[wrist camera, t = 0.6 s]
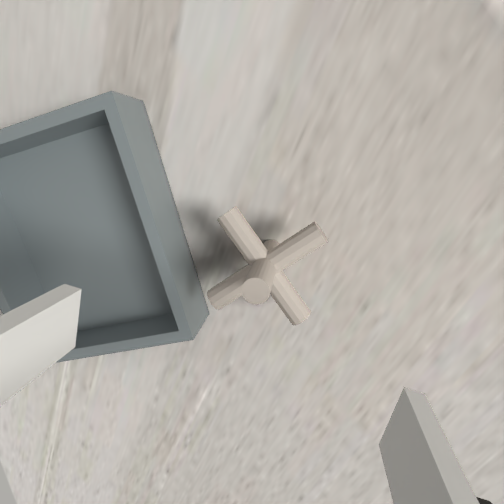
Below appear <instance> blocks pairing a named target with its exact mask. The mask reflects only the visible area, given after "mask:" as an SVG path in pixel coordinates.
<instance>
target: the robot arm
mask: <svg viewBox="0 0 504 504" xmlns="http://www.w3.org/2000/svg"><path fill="white" fill-rule="evenodd" d="M81 290H82V289H80V288H77V287H74V286H70V285H67V284H63V285H61V286H59V287H57V288H55V289H53V290H51V291H49V292H47V293H45V294H43V295H41V296H39V297H37V298H35V299H33V300H31V301H29V302H27V303H25V304H23V305H21V306H19V307H17V308H15V309H13V310H11V311H9V312H7V313H5V314H3V315H1V316H0V407H1V406H2V405H3V404H4V403H6V402H7V401H8V400H9V399H11V398H12V397H13V396H14V395H16V394H17V393H18V392H19V391H21V390H22V389H23V388H24V387H26V386H27V385H28V384H29V383H31V382H32V381H33V380H34V379H36V378H37V377H38V376H39V375H41V374H42V373H43V372H44V371H46V370H47V369H48V368H49V367H51V366H52V365H53V364H54V363H56V362H57V361H58V360H59V359H61V358H62V357H63V356H65V355H66V354H67V353H68V352H70V351H71V350H72V349H73V348H75V344H76V335H77V326H78V317H79V308H80V299H81ZM379 447H380V451H381V455H382V459H383V463H384V467H385V471H386V475H387V479H388V483H389V487H390V491H391V495H392V499H393V503H394V504H492V503H491V502H490V501H487V500H484V499H481V498H478V497H476V496H475V494H474V492H473V490H472V488H471V486H470V484H469V482H468V480H467V478H466V476H465V474H464V472H463V470H462V468H461V466H460V464H459V462H458V460H457V458H456V456H455V454H454V452H453V450H452V447H451V445H450V443H449V441H448V439H447V437H446V435H445V433H444V431H443V429H442V427H441V425H440V423H439V421H438V419H437V417H436V415H435V413H434V411H433V409H432V407H431V405H430V403H429V401H428V399H427V397H426V395H425V393H421V392H418V391H415V390H411V389H408V388H405V387H404V389H403V391H402V393H401V395H400V398H399V400H398V402H397V404H396V407H395V409H394V411H393V414H392V416H391V418H390V420H389V423H388V425H387V427H386V430H385V432H384V434H383V436H382V439H381V441H380V443H379Z"/></svg>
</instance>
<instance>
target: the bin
mask: <svg viewBox="0 0 504 504" xmlns="http://www.w3.org/2000/svg"><path fill="white" fill-rule="evenodd" d="M63 284H67V285H70V286H74V287H77V288H80V289H82V290H81V299H80V308H79V317H78V326H77V335H76V344H75V348H73V349H72V350H71V351H70V352H68V353H67V354H66V355H65V356H63V357H62V358H61V359H59V360H58V361H57V362H62V361H68V360H74V359H80V358H86V357H92V356H98V355H104V354H110V353H116V352H122V351H129V350H135V349H141V348H147V347H153V346H159V345H165V344H171V343H177V342H183V341H189V340H194V338H195V336H196V335H197V333H198V331H199V330H200V328H201V326H202V325H203V323H204V322H205V320H206V318H207V317H208V315H209V311H208V308H207V305H206V301H205V298H204V295H203V292H202V289H201V285H200V282H199V279H198V276H197V272H196V269H195V266H194V263H193V260H192V256H191V253H190V250H189V247H188V243H187V240H186V237H185V234H184V231H183V227H182V224H181V221H180V218H179V215H178V211H177V208H176V205H175V202H174V198H173V195H172V192H171V189H170V186H169V182H168V179H167V176H166V173H165V170H164V166H163V163H162V160H161V157H160V153H159V150H158V147H157V144H156V141H155V137H154V134H153V131H152V128H151V124H150V121H149V118H148V115H147V112H146V108H145V105H144V102H143V101H142V100H139V99H136V98H133V97H130V96H126V95H123V94H120V93H117V92H114V91H110V92H107V93H104V94H101V95H98V96H95V97H92V98H89V99H87V100H84V101H81V102H78V103H75V104H72V105H69V106H66V107H64V108H61V109H58V110H55V111H52V112H49V113H46V114H43V115H41V116H38V117H35V118H32V119H29V120H26V121H23V122H20V123H17V124H15V125H12V126H9V127H6V128H3V129H0V309H1V311H2V313H3V314H5V313H7V312H9V311H11V310H13V309H15V308H17V307H19V306H21V305H23V304H25V303H27V302H29V301H31V300H33V299H35V298H37V297H39V296H41V295H43V294H45V293H47V292H49V291H51V290H53V289H55V288H57V287H59V286H61V285H63Z"/></svg>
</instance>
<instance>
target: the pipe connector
mask: <svg viewBox="0 0 504 504" xmlns="http://www.w3.org/2000/svg"><path fill="white" fill-rule="evenodd" d="M217 221H218V222H219V224H220V225H221V226H222V228H223V229H224V231H225V232H226V233H227V235H228V236H229V237H230V239H231V240H232V242H233V243H234V244H235V246H236V247H237V249H238V250H239V251H240V253H241V254H242V255H243V257H244V258H245V260H246V261H247V262H248V265H247V266H245V267H244V268H242V269H241V270H239V271H237V272H236V273H234V274H233V275H231V276H230V277H228V278H227V279H225V280H224V281H222V282H220V283H219V284H217V285H216V286H214V287H213V288H211V289H210V290H208V292H207V296H208V299H209V301H210V303H211V304H212V305H213V306H214V307H215V308H216V309H218V310H220V309H221V308H223V307H225V306H226V305H228V304H229V303H231V302H233V301H234V300H236V299H237V298H239V297H241V296H243V297H244V299H245V300H246V301H247V302H249V303H251V304H254V305H259V304H262V303H264V302H266V301H267V299H268V298H269V296H270V294H271V296H272V297H273V298H274V300H275V301H276V303H277V304H278V305H279V307H280V308H281V310H282V311H283V312H284V314H285V315H286V316H287V318H288V319H289V321H290V322H291V323H292V325H298V324H300V323H302V322H304V321H305V320H306V319H307V318H308V317H309V316H310V314H311V311H310V310H309V308H308V307H307V305H306V304H305V303H304V301H303V300H302V298H301V297H300V295H299V294H298V293H297V291H296V290H295V288H294V287H293V286H292V284H291V283H290V281H289V280H288V278H287V277H286V276H285V274H284V273H283V270H284V269H286V268H287V267H289V266H291V265H292V264H294V263H296V262H297V261H299V260H300V259H302V258H304V257H305V256H307V255H308V254H310V253H312V252H313V251H315V250H316V249H318V248H320V247H321V246H323V245H325V244H326V243H328V240H327V238H326V236H325V235H324V233H323V232H322V230H321V229H320V227H319V226H318V224H317V223H316V222H313V223H312V224H310V225H308V226H307V227H305V228H304V229H302V230H301V231H299V232H298V233H296V234H295V235H293V236H292V237H290V238H288V239H287V240H285V241H284V242H282V243H281V244H279V243H278V242H277V241H275V240H267V241H265V242H264V243H262V242H261V240H260V239H259V238H258V236H257V235H256V233H255V232H254V230H253V229H252V228H251V226H250V225H249V223H248V222H247V221H246V219H245V218H244V216H243V215H242V213H241V212H240V211H239V209H238V208H237V206H235V207H234V208H232V209H231V210H230V211H228V212H227V213H225V214H224V215H223V216H221V217H220V218H219V219H217Z"/></svg>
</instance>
